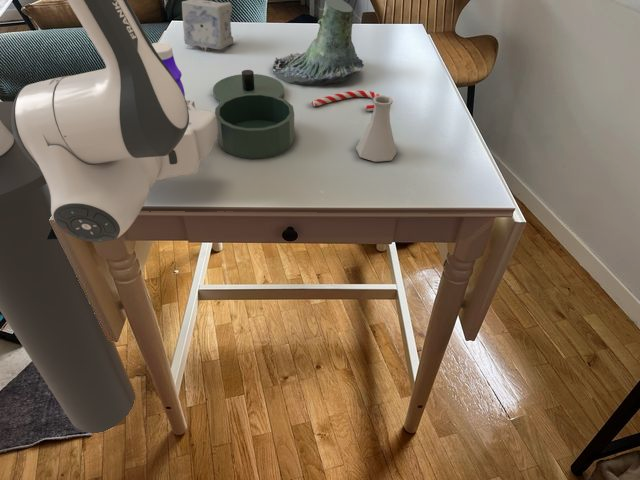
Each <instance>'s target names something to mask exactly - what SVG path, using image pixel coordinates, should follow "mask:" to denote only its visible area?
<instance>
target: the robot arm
mask: <svg viewBox="0 0 640 480" xmlns="http://www.w3.org/2000/svg"><path fill="white" fill-rule="evenodd" d="M66 1H67V3H68V4H69V6H70V8H71V9H72V11H73V13H74V14H75V16H76V17H77V19H78V21H79V22H80V24H81V26H82V28H83V29H84V31H85V32H86V34H87V35H88V37H89V39H90V40H91V43H92V44H93V46H94V47H95V49H96V51H97V52H98V54H99V55H100V57H101V59H102V61H103V62H104V63H103V64H104V65H105V68H101V69H97V70H91V71H87V72H83V73H78V74H77V73H76V74H73V75H65V76H59V77H55V78H50V79H46V80H41V81H37V82H34V83H28V84H25V85H24V86H22V87H21V88H20V90H19V91H18V92H17V94H16V96H15V98H14V101H13V102H14V103H13V107H12V114H11V123H12V131H13V135H14V137H13V135H12V134H11V133H10V131H9V130H8V129H7V128H6V127H5V126H4V124H3V123H2V122H1V120H0V156H1V155H3V154H4V153H6V152H7V151H8V150H9V149H10V148H11V146H12V145H13V143H14V138H15V140H16V142H17V144H18V146H19V147H20V149H21V150H22V152H23V153H24V154H25V156H26V157H27V158H28V159H29V160H30V161H31V162H32V163H33V164H34V165H35V166H36V167H37V168H38V169H39V170H40V171H41V172H42V173H43V175H44V178H45V180H46V182H47V185H48V187H49V190H50V196H51V214H52V218H53V220H54V224H55V225H56V226H57V227H58V228H59V229H60V230H61V231H62V232H64V233H65V234H67V235H69V236H71V237H73V238H75V239H78V240H81V241H85V242H91V243H100V242H109V241H113V240H114V241H115V240H117V239H118V238H120V237H121V236H122V235H124V234H125V233H126V232H127V231H128V230H129V229H130V227H132V225H133V224H134V223H135V221H136V220H137V217H138V216H139V214H140V213H141V211H142V209H143V207H144V205H145V203H146V201H147V199H148V197H149V193H150V188H151V186H153V185H154V183H155V182H159V181H162V180H166V179H170V178H175V177H180V176H187V175H194V174H196V173H197V172H198V171H199V169H200V161H201V160H203V159H204V158H206V157H207V156H208V155H209V154H210V152H211V150H212V149H213V147H214V145H215V143H216V142H217V140H218V137H217V136H218V123H217V117H216V115H215V112H213V111H212V110H200V109H199V110H198V109H196V105H195V104H196V103H195V101H194V100H186V97H184V95H183V92H182V90H181V88H180V86H179V84H178V83H177V81H176V79H175V78H174V76H173V75H172V73H171V72H170V71H169V69H168V68H167V66H166V65H165V64H164V62H163V61H162V59H161V58H160V57H159V55H158V54H157V52H156V51H155V49H154V47H153V46H152V44H153V43H152V42H151V41H150V39H149V37H148V35H147V33H146V31H145V30H144V28H143V25H142V24H141V22H140V20H139V18H138V17H137V15H136V13H135V10H134V9H133V8H132V6H131V4H130V2H129V0H66Z"/></svg>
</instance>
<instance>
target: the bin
mask: <svg viewBox="0 0 640 480" xmlns="http://www.w3.org/2000/svg"><path fill="white" fill-rule="evenodd" d="M214 114H215V115H216V117H217V123H218V136H217V142H218V144H219V146H220V148H221V149H222V150H223V151H224V152H226V153H228V154H230V155H232V156H234V157H236V158H237V157H238V158H241V159H249V160H250V159H251V160H259V159H260V160H261V159H268V158H272V157H276V156H278V155H281V154H283V153H285V152H286V151H288V150H289V149H290V148H291V147H292V146H293V143H294V141H295V110H294V106H293V105H292V104H291V103H290V102H289V101H288V100H287V99H286V98H285V99H284V98H283V97H281V98H280V97H278V96H275V95H269V94H263V93H247V94H242V95H237V96H232V97H230V98H228V99H226V100H224V101H222V102H220V103H219V104H218V105H217V106H215V109H214Z"/></svg>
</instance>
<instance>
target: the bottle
mask: <svg viewBox="0 0 640 480" xmlns="http://www.w3.org/2000/svg"><path fill="white" fill-rule="evenodd" d="M151 44H152V46H153V47H154V49H155V51H156V52H157V54H158V55H159V57H160V58H161V59H162V61H163V62H164V64H165V65H166V66H167V68H168V69H169V71H170V72H171V73H172V75H173V76H174V78H175V79H176V81H177V83H178V84H179V86H180V88H181V90H182V92H183V95H184V97H185V96H186V93H185V88H184V85H183V81H182V80H181V78H182V76H183V75H182V71H181V70H180V69H179V67H178V66H177V64H176V61H175V57H174V53H173V46H172V45H171V44H170V43H167V42H153V43H151ZM185 98H186V97H185Z"/></svg>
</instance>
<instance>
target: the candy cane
mask: <svg viewBox="0 0 640 480" xmlns="http://www.w3.org/2000/svg"><path fill="white" fill-rule="evenodd" d="M380 95H381V94H379V93H377V92H374V91H370V90H349V91H343V92H339V93H334V94H331V95H327V96H324V97H320V98H316V99H314V100H312V101H311V105H312V107H314V108H316V107H319V106H322V105H325V104H329V103H333V102H336V101H340V100H345V99H350V98H368V99H372V100H373V98H374V97H375V96H380ZM365 111H366V112H373V111H374V104H369V105H366V107H365Z"/></svg>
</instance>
